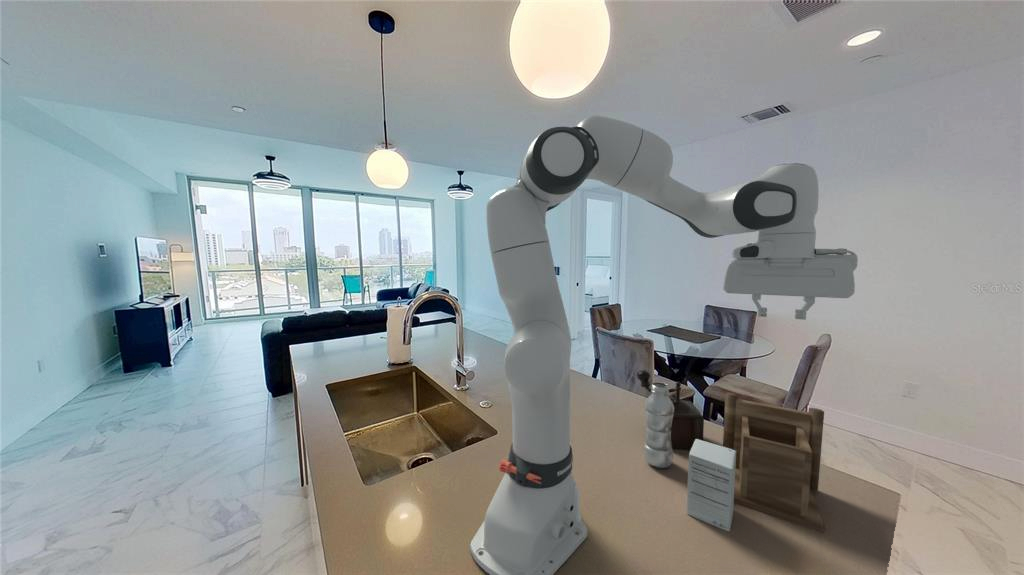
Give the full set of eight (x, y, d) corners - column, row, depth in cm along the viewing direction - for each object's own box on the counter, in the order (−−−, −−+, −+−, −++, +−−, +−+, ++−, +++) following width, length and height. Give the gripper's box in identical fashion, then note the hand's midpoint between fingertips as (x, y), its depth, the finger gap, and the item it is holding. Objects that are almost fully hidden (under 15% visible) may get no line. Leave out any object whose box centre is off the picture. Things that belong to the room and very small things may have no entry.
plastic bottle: (678, 472, 77) (681, 390, 76) (649, 472, 78) (651, 390, 76) (665, 455, 84) (668, 380, 82) (639, 455, 84) (641, 380, 82)
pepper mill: (689, 430, 96) (691, 370, 95) (703, 452, 86) (707, 385, 84) (633, 425, 99) (635, 367, 98) (641, 446, 88) (643, 381, 87)
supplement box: (692, 493, 71) (695, 437, 69) (734, 509, 66) (737, 450, 65) (685, 514, 65) (687, 453, 64) (729, 533, 60) (733, 468, 59)
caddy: (833, 535, 60) (841, 441, 58) (720, 497, 69) (724, 415, 68) (816, 488, 72) (822, 409, 70) (721, 462, 81) (725, 391, 80)
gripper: (853, 248, 62) (847, 320, 64) (725, 250, 74) (722, 311, 75) (864, 247, 57) (857, 325, 58) (724, 250, 69) (721, 315, 70)
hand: (780, 317), depth 67 cm, fingers open, 5 cm apart
